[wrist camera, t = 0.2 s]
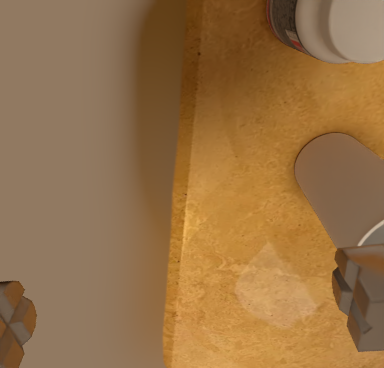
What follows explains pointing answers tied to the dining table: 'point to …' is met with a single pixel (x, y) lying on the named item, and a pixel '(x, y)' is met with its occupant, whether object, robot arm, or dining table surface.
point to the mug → (344, 188)
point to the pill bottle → (330, 28)
